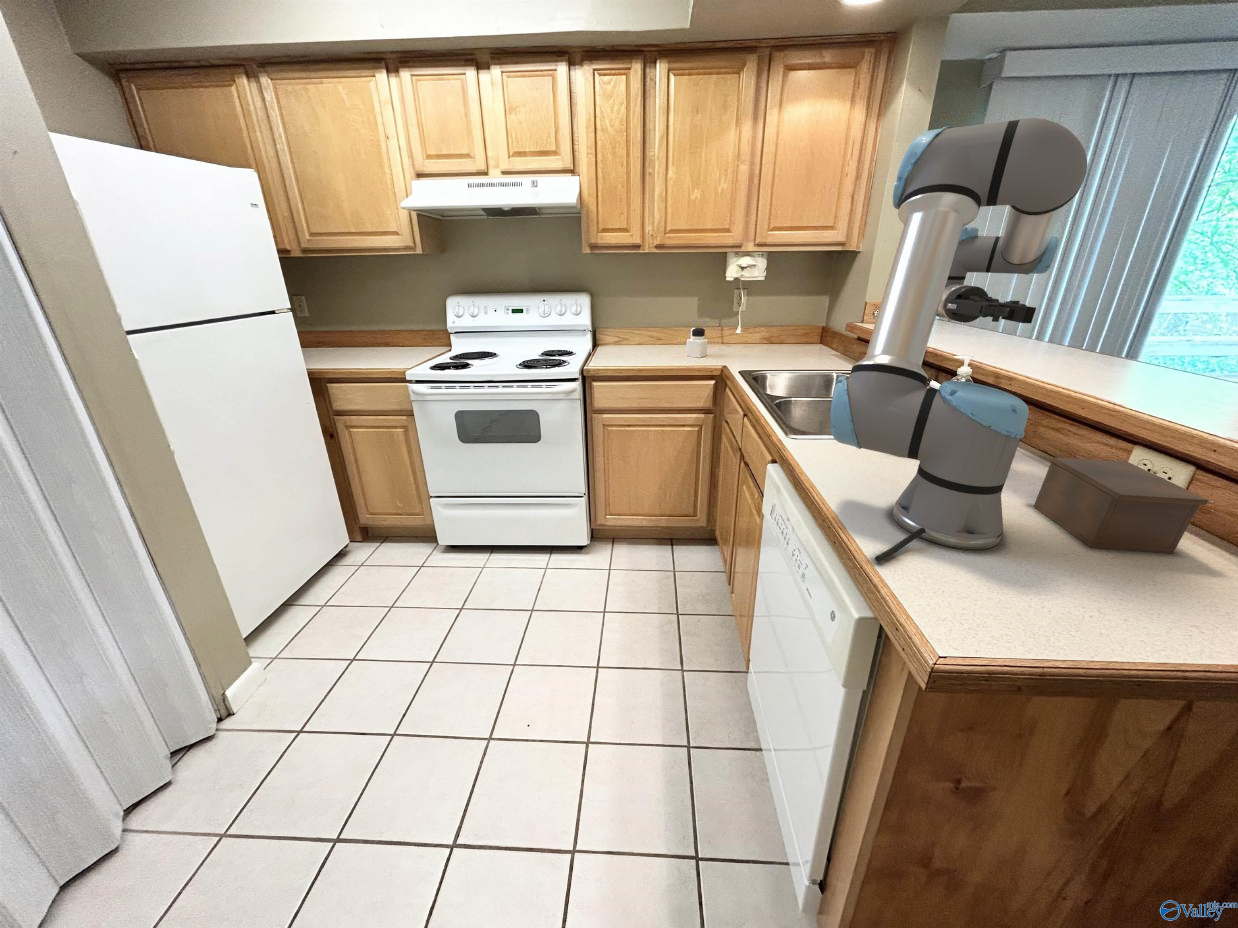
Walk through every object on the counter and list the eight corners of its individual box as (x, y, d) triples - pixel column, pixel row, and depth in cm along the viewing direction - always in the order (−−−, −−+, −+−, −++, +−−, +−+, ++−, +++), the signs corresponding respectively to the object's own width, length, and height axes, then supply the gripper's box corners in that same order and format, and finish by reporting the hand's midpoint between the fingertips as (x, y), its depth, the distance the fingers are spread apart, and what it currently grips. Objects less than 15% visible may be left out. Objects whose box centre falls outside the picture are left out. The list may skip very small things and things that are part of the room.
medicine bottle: (706, 355, 217) (709, 327, 212) (700, 358, 211) (702, 329, 207) (692, 353, 221) (694, 326, 216) (685, 356, 215) (687, 328, 210)
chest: (1173, 553, 74) (1201, 502, 71) (1090, 547, 76) (1113, 497, 72) (1103, 511, 87) (1124, 465, 83) (1033, 506, 88) (1051, 461, 85)
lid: (1206, 505, 70) (1209, 500, 70) (1117, 499, 72) (1120, 494, 71) (1124, 465, 83) (1126, 461, 83) (1051, 461, 85) (1052, 457, 84)
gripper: (987, 321, 109) (1061, 338, 87) (925, 320, 110) (983, 335, 89) (998, 286, 106) (1077, 294, 84) (934, 284, 107) (996, 292, 86)
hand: (1029, 315), depth 86 cm, fingers closed
